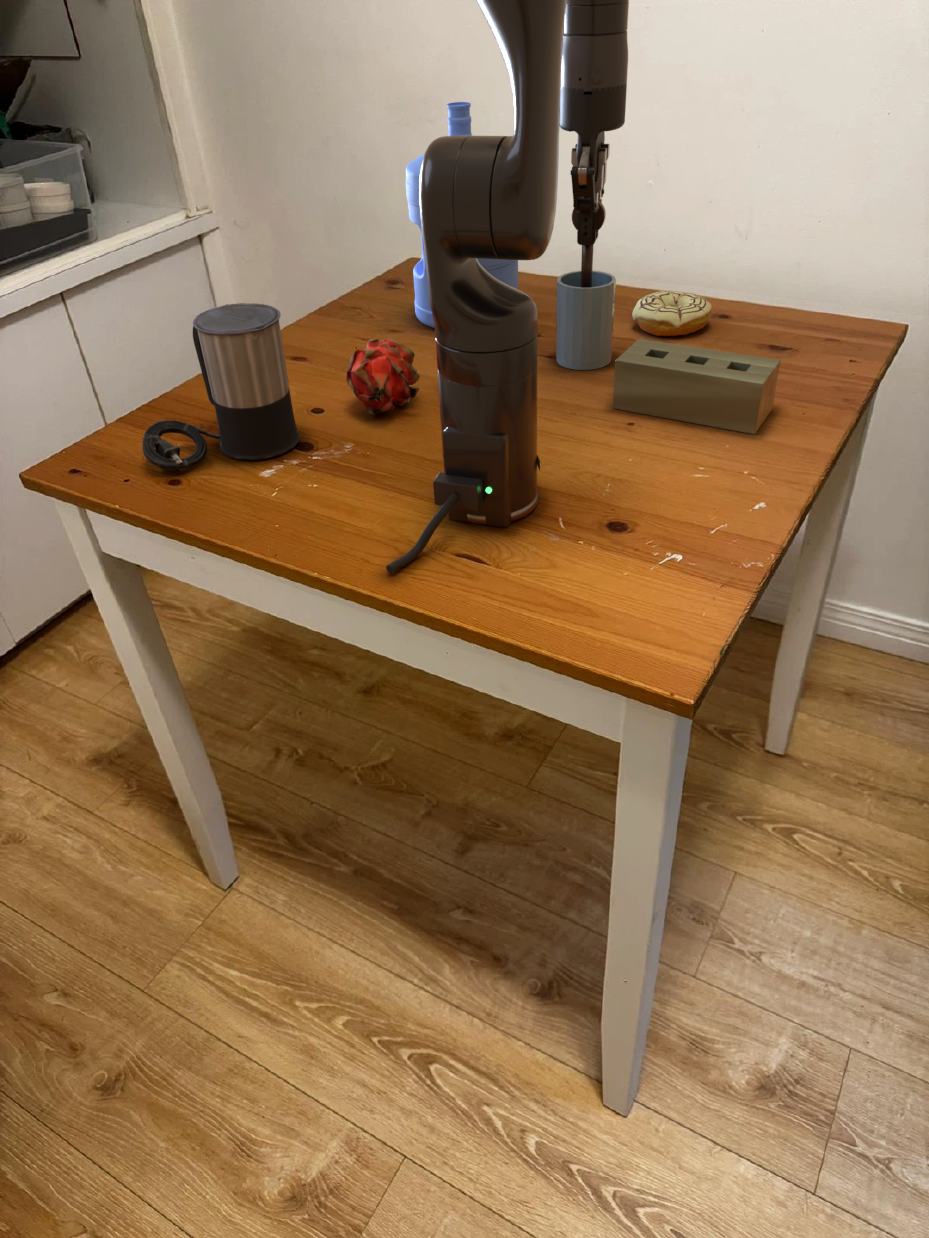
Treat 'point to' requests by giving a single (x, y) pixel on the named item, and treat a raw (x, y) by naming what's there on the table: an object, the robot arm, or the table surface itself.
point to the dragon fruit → (382, 375)
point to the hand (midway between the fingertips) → (587, 241)
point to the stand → (696, 385)
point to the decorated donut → (672, 313)
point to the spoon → (588, 247)
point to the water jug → (497, 268)
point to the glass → (585, 321)
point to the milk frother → (236, 389)
